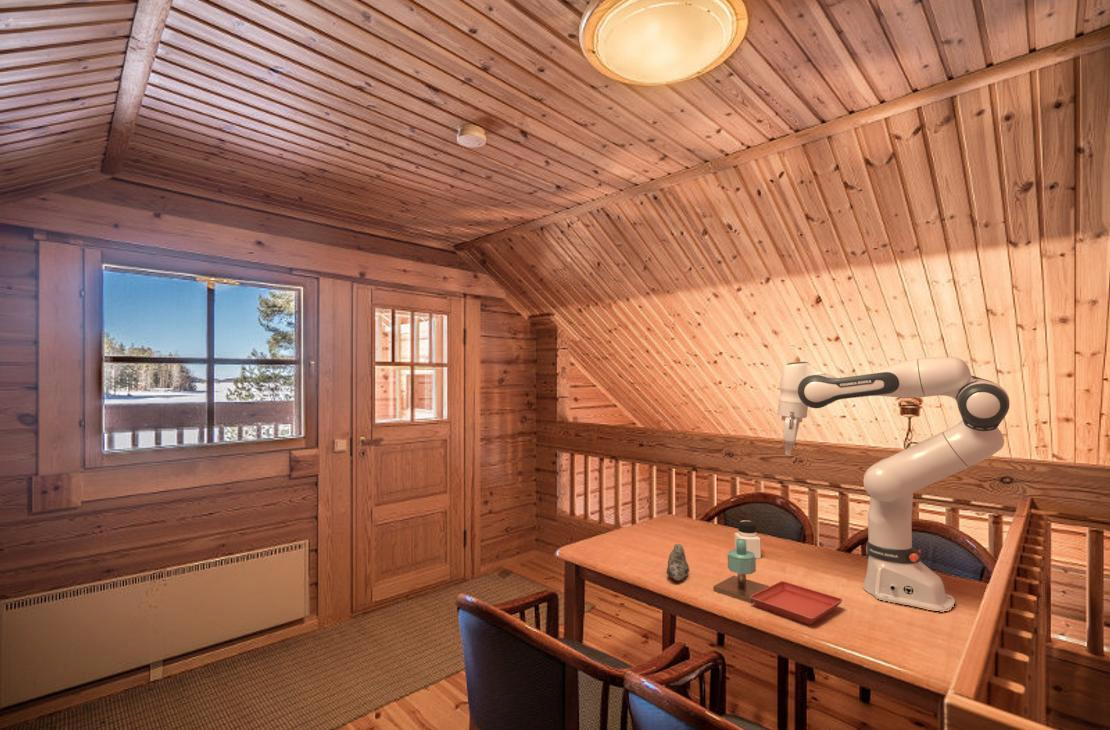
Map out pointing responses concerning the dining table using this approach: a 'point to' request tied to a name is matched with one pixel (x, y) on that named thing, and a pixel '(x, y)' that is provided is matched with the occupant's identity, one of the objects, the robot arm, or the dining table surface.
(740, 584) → the post
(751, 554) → the cap
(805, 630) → the dining table surface
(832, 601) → the plant saucer
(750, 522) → the medicine bottle
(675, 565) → the mineral rock
